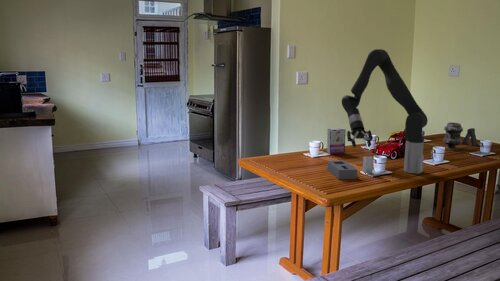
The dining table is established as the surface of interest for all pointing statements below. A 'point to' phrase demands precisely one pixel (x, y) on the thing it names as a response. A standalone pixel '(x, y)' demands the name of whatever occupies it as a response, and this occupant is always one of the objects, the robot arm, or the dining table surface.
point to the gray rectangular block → (367, 164)
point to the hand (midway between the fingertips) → (362, 146)
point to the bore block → (342, 169)
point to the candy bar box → (336, 141)
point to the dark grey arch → (473, 138)
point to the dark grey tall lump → (452, 135)
